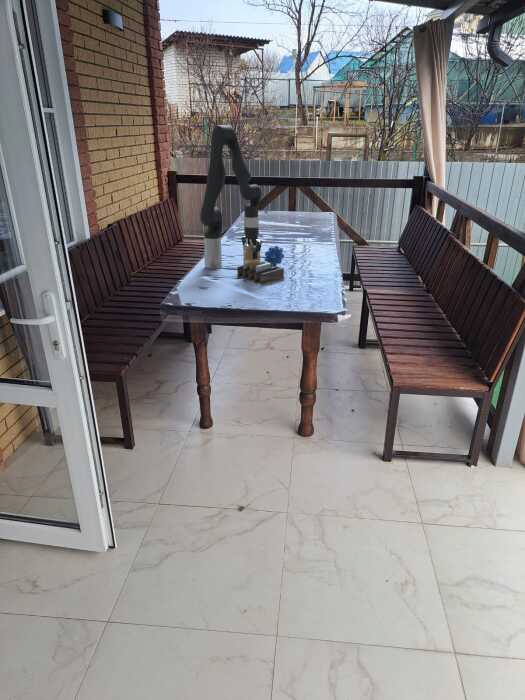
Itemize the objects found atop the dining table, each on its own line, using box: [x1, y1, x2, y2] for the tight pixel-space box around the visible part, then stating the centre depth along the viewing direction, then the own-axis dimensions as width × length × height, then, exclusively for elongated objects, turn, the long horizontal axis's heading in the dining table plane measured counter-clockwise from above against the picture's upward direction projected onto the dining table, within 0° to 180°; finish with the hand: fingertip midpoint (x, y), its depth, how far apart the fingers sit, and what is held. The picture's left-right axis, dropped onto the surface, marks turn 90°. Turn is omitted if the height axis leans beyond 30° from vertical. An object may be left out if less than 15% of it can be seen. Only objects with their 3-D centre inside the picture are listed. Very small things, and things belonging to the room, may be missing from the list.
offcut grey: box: [256, 262, 271, 272], centre depth 256 cm, size 2×9×7 cm, turn 133°
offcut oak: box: [250, 260, 266, 270], centre depth 259 cm, size 2×9×7 cm, turn 133°
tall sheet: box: [242, 244, 261, 268], centre depth 260 cm, size 2×10×16 cm, turn 133°
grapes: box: [263, 245, 285, 267], centre depth 279 cm, size 12×7×12 cm, turn 75°
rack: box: [234, 264, 287, 286], centre depth 258 cm, size 22×18×6 cm
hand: (251, 257), depth 259 cm, fingers open, 4 cm apart
